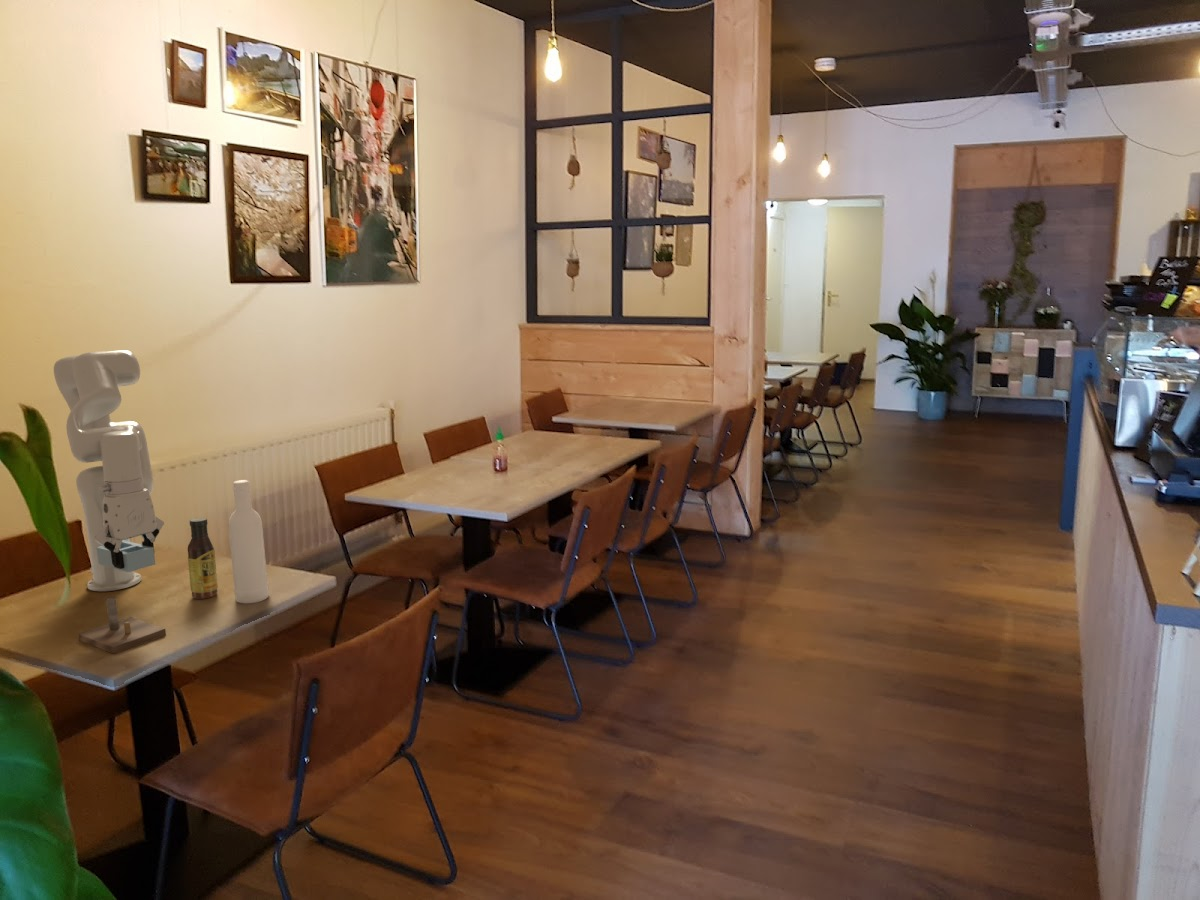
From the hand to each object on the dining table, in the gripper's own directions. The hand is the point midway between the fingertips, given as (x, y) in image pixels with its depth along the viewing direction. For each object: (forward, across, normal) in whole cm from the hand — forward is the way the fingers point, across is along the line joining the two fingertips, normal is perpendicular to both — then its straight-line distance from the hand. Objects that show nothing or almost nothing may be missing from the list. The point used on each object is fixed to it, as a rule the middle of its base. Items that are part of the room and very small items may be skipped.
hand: (134, 562), depth 208 cm
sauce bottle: (+16, +21, +6) cm, 27 cm away
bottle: (+16, +26, -6) cm, 31 cm away
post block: (+16, -6, -1) cm, 17 cm away
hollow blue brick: (+1, 0, +3) cm, 3 cm away
